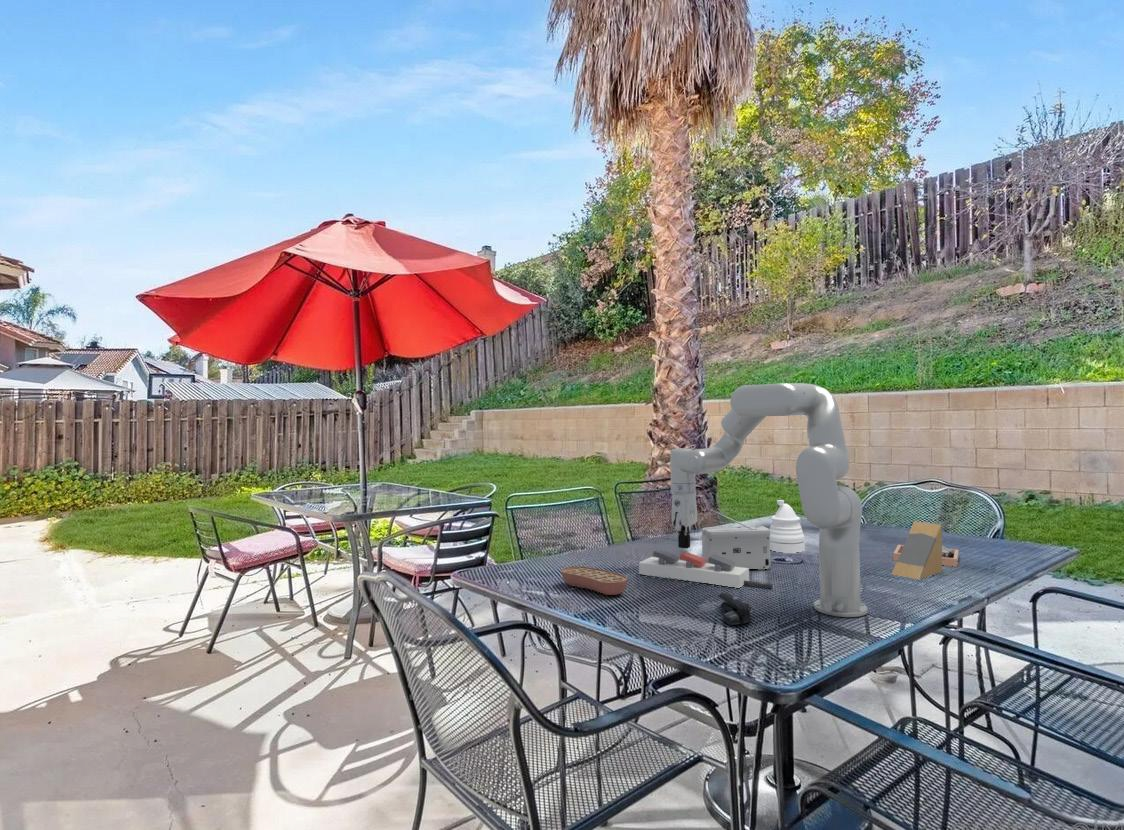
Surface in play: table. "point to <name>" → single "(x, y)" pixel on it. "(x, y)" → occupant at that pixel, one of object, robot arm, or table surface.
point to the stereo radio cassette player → (738, 545)
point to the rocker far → (665, 556)
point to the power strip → (698, 573)
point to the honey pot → (786, 531)
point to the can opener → (735, 610)
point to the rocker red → (693, 559)
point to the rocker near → (721, 562)
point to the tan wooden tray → (945, 560)
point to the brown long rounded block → (595, 579)
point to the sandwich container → (921, 552)
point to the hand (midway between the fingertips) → (684, 547)
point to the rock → (947, 552)
